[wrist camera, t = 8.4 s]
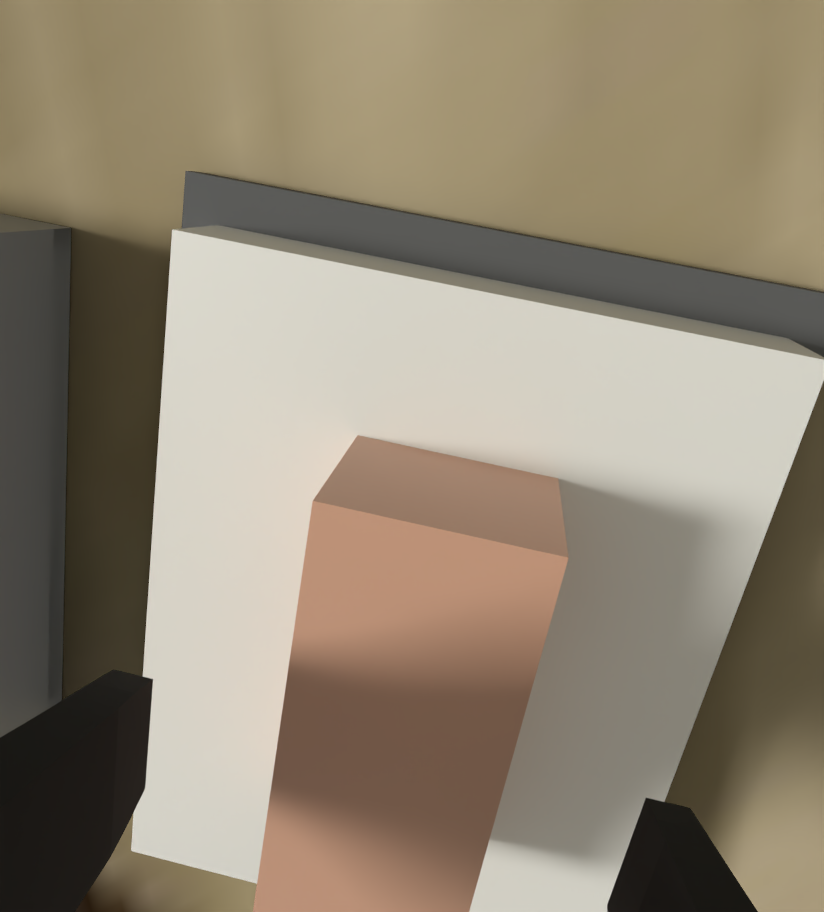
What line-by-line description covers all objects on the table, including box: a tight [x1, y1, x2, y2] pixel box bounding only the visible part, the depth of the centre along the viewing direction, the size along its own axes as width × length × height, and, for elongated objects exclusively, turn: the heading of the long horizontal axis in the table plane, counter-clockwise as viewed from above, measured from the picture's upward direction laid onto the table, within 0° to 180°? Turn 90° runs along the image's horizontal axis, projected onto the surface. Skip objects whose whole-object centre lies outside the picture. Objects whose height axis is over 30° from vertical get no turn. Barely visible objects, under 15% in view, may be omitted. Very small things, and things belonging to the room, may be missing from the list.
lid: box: [131, 225, 824, 912], centre depth 14 cm, size 14×11×5 cm
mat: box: [182, 171, 824, 357], centre depth 16 cm, size 15×12×1 cm
